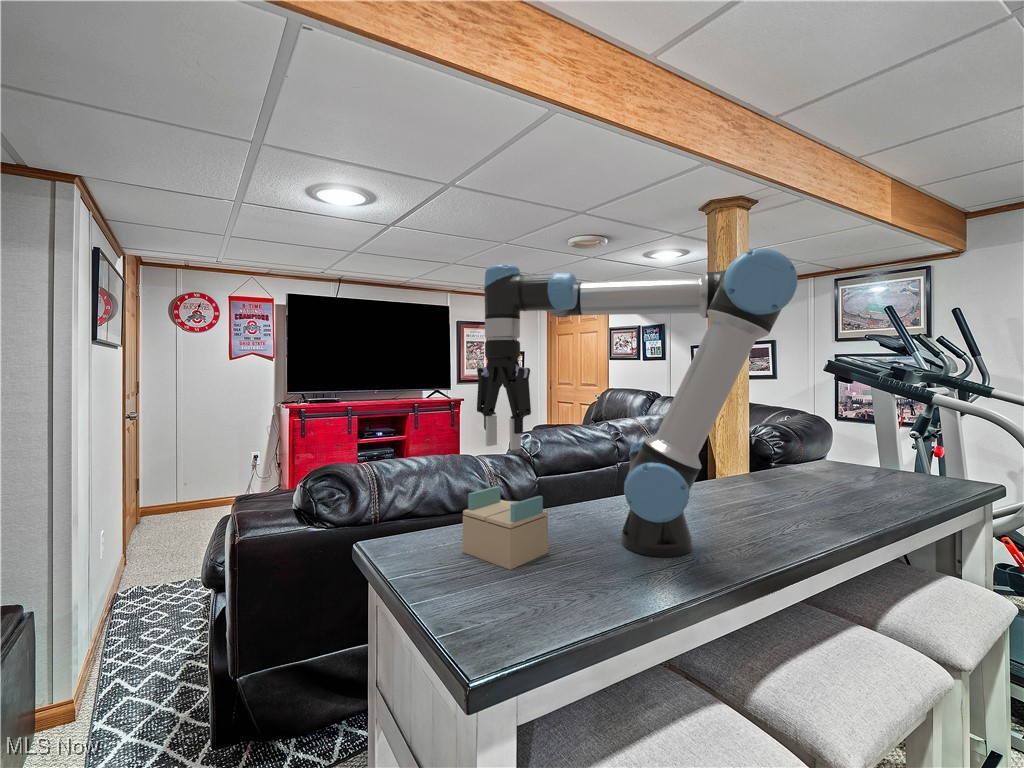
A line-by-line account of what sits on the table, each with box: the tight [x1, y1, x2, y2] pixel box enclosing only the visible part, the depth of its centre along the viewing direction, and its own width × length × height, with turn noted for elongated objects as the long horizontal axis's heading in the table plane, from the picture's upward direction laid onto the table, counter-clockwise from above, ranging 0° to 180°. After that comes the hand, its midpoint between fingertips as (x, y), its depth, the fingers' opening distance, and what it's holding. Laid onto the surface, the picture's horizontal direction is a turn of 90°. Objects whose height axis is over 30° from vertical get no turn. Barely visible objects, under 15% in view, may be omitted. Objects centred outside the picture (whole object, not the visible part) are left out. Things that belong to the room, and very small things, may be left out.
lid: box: [462, 485, 513, 521], centre depth 111 cm, size 7×12×4 cm, turn 137°
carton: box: [462, 514, 549, 571], centre depth 109 cm, size 14×12×8 cm
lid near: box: [486, 495, 549, 528], centre depth 106 cm, size 7×12×4 cm, turn 137°
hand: (503, 446), depth 108 cm, fingers open, 6 cm apart
